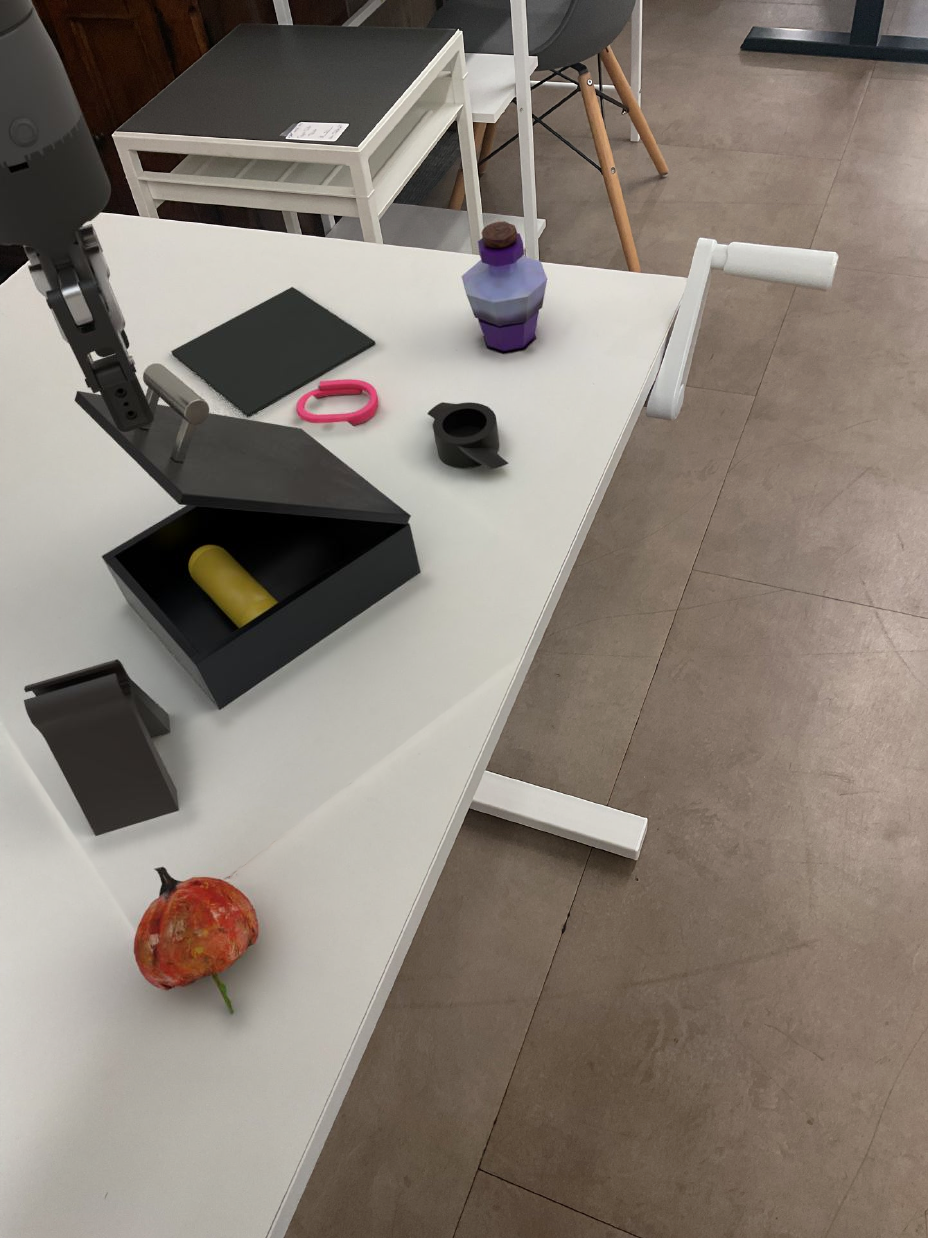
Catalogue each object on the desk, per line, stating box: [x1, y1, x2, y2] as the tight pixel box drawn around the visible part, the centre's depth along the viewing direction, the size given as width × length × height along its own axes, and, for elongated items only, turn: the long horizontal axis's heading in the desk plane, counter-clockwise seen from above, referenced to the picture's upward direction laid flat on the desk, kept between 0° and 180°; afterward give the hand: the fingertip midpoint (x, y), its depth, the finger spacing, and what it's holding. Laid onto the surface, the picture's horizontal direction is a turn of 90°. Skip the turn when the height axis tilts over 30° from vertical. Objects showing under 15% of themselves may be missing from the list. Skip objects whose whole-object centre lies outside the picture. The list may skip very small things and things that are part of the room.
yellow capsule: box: [189, 545, 278, 628], centre depth 81 cm, size 4×12×4 cm, turn 40°
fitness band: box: [295, 378, 379, 426], centre depth 99 cm, size 8×6×2 cm
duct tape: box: [426, 401, 509, 470], centre depth 92 cm, size 8×10×3 cm
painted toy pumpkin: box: [133, 866, 259, 1015], centre depth 62 cm, size 7×7×10 cm
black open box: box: [101, 505, 422, 711], centre depth 82 cm, size 20×16×6 cm
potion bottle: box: [460, 221, 548, 355], centre depth 99 cm, size 9×9×12 cm
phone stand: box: [23, 658, 180, 837], centre depth 70 cm, size 9×6×12 cm, turn 15°
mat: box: [170, 286, 376, 418], centre depth 107 cm, size 16×16×1 cm
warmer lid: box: [74, 363, 412, 524], centre depth 74 cm, size 20×16×5 cm
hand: (125, 386), depth 63 cm, fingers open, 8 cm apart
